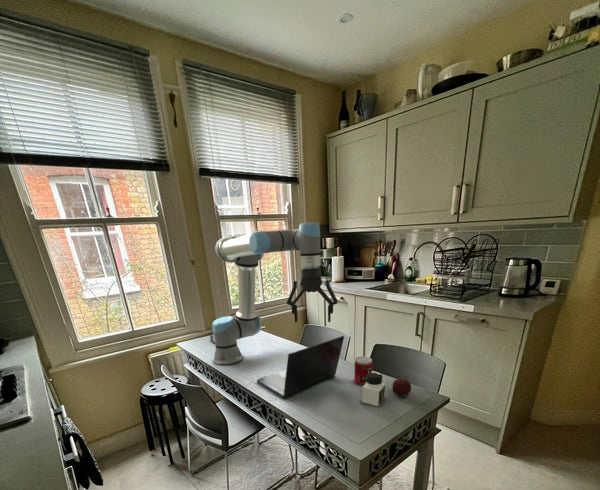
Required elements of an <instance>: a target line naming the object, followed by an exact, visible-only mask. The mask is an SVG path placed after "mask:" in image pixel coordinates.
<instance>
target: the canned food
mask: <svg viewBox="0 0 600 490" xmlns="http://www.w3.org/2000/svg"><path fill="white" fill-rule="evenodd" d="M370 372H373V359H372V358H371V357H369V356H357V357H356V358H354V374H353V375H354V377H353V380H354V383H355V384H357V385H359V386H364V385H365V384H366V379H367V374H368V373H370Z"/></svg>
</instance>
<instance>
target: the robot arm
mask: <svg viewBox="0 0 600 490" xmlns="http://www.w3.org/2000/svg"><path fill="white" fill-rule="evenodd" d="M298 225H299V226H298V229H297V228H296V229H295V228H289V229H277V230H257V231H253V232H251V233H250V234H244V235H232V236H231V235H230V236H229V235H228V236H224V237H222V238H220V239H218V240H217V241H216V243H215V247H214V250H215V254H216V256H217V257H218V259H220V260H221V261H223V262H225V263H231V264H232V263H234V265H235V266H236V267H237V276H238V277H237V279H238V280H237V282H238V284H237V287H238V288H237V289H238V290H237V291H238V310H237V311H236V312H235V317H233V316H231V315H227V316H221V317H219V318H217V319H215V320H213V322H212V324H211V327H212V333H213V335H212V333H210V334H209V336H210V341H211V342H212V343H213V344H214V345H215V351H214V356H213V361H214V363H215V364H216V365H222V366H227V365H233V364H237V363H238V362H240V361H242V360H243V354H242V352H241V350H240V348H239V346H238V341H237V340H240V339H245V338H248V337H253V336H255V335H258V334H259V333H260V332H261V329H262V321H261V320H262V319H261V317H260V315H259V314H258V312H256V309H255V308H256V268H257V267H258V266H259V261H261V260H262V259H263V257H264V254H270V253H278V252H279V253H280V252H289V251H299V252H300V254H299V255H300V267H301V269H300V275H301V276H300V277H301V280H297V279H295V280H294V281H293V286H292V289H291V291H290V294H289V296H288V298H287V301H286V305H288V306H291V314H292V315H293V316H294V323H298V320H299V315H298V304H297V302H298V301H299V300H300V298H301V297H302V296H303V295H304V293H305V292H306V293H317V292H318V294H320V296H321V297H322V298H323V299H324V300H325V301H326V303H327V304H328V305H327V322H328V323H331V321H332V320H331V318H332V317H331V315H332V314H333V313H334V305H335V306H336V305H337V304H338V302H339V300H338V299H337V296H336V294H335V293H334V290H333V289H332V286H331V283H330V279H329V278H328V279H324V280H322V268H321V265H322V264H321V263H322V260H321V257H322V256H321V230H320V229H321V227H320V223H318V222H301V223H299V224H298ZM322 285H323V286H324V287H326V289H327V292H328V293H329V296H330V297H331V298H330V297H329V296H328V294H327V293H326V292H325V291H324V290H323V288H322V287H321V286H322ZM299 286H301V287H302V289H301V290H300V292H299V293H298V294H297V296H296V297H295V298H294V296H295V293H296V291H297V288H298V287H299ZM293 298H294V300H293Z"/></svg>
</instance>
